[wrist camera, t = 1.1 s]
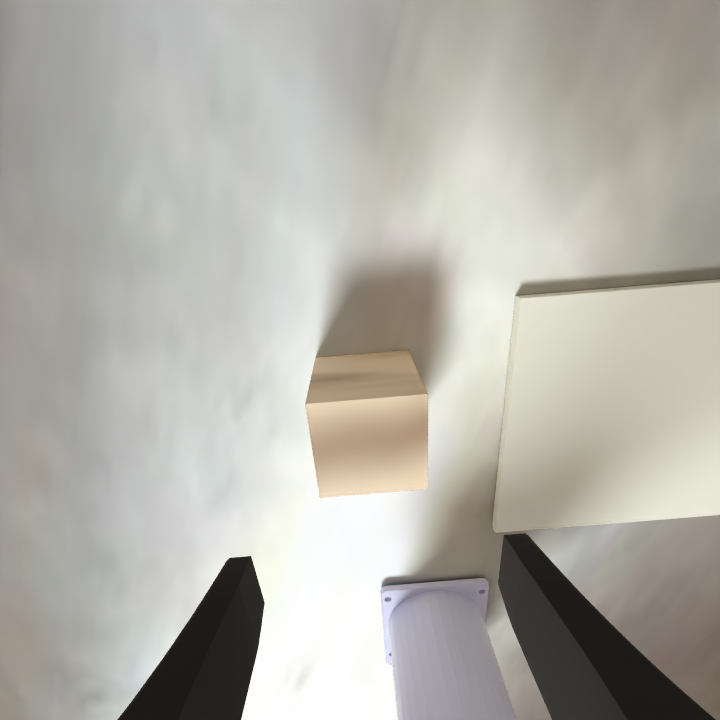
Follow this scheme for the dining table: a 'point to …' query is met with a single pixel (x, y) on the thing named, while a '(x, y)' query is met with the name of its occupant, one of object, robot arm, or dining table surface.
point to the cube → (368, 424)
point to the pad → (611, 407)
